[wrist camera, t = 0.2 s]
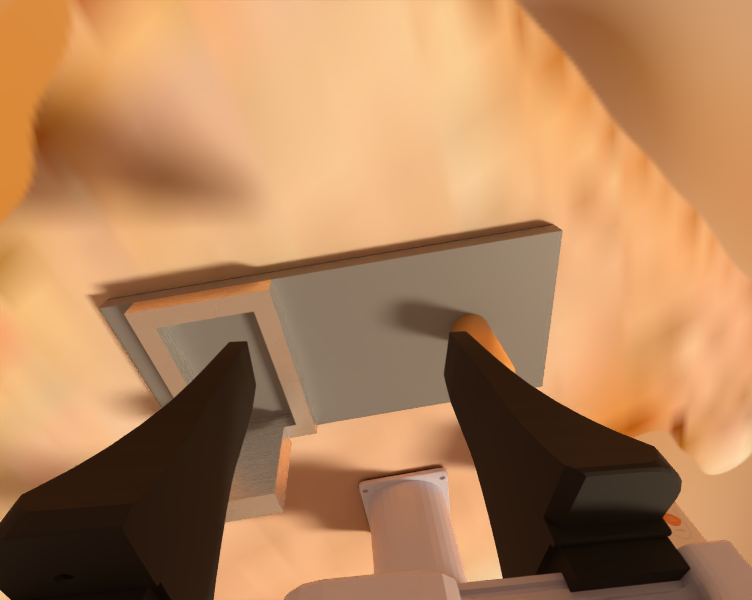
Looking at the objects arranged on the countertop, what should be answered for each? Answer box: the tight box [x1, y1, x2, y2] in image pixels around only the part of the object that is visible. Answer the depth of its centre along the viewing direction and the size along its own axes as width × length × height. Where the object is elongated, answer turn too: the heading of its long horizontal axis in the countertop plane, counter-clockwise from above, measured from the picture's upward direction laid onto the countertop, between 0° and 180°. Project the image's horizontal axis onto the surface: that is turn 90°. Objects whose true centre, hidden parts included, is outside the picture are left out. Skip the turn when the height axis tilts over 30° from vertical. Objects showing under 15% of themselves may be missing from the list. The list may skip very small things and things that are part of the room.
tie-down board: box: [99, 225, 562, 425], centre depth 25 cm, size 12×27×1 cm, turn 98°
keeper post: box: [452, 314, 515, 373], centre depth 23 cm, size 2×2×4 cm
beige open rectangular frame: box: [124, 280, 318, 522], centre depth 22 cm, size 13×8×6 cm, turn 8°
